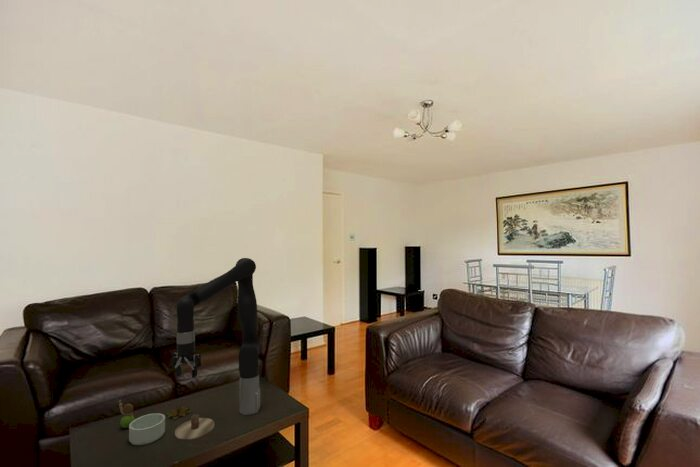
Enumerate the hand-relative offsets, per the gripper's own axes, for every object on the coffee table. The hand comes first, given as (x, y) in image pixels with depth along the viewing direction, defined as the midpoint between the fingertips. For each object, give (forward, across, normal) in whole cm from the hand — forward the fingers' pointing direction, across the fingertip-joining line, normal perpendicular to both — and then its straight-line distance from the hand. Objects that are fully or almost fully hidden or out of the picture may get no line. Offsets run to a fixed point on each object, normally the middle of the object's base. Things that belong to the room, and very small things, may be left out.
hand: (186, 376), depth 150 cm
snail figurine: (+21, +25, +9) cm, 34 cm away
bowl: (+22, +10, +12) cm, 27 cm away
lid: (+22, -6, +2) cm, 23 cm away
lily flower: (+22, +11, -7) cm, 26 cm away
